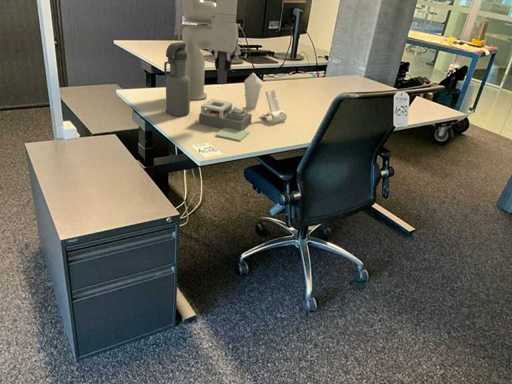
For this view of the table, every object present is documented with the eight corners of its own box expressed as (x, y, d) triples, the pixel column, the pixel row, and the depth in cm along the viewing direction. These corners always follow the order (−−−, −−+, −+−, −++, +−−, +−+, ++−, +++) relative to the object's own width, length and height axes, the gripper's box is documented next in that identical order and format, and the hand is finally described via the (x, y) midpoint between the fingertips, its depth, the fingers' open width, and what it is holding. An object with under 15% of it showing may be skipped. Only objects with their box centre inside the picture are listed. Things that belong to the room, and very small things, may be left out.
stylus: (216, 83, 163) (217, 51, 158) (219, 81, 166) (221, 50, 161) (224, 84, 163) (226, 52, 157) (227, 83, 165) (229, 51, 160)
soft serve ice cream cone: (248, 103, 199) (251, 69, 192) (263, 107, 196) (267, 73, 188) (238, 107, 193) (241, 72, 185) (254, 111, 189) (257, 75, 182)
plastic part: (273, 124, 177) (277, 97, 171) (257, 117, 183) (260, 91, 177) (286, 122, 182) (289, 95, 176) (269, 115, 188) (272, 89, 182)
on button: (232, 113, 167) (232, 108, 166) (235, 110, 170) (235, 106, 169) (240, 114, 166) (240, 110, 165) (243, 112, 169) (244, 107, 168)
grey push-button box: (198, 123, 169) (199, 105, 165) (210, 115, 179) (211, 98, 175) (241, 132, 164) (242, 114, 161) (250, 123, 175) (252, 106, 171)
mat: (215, 136, 158) (215, 134, 158) (225, 128, 167) (225, 126, 167) (240, 141, 156) (240, 139, 156) (249, 133, 165) (249, 131, 164)
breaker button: (210, 121, 171) (210, 114, 170) (213, 118, 174) (214, 111, 173) (218, 123, 170) (219, 116, 169) (222, 120, 174) (222, 113, 172)
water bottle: (178, 118, 172) (179, 47, 158) (160, 112, 176) (159, 42, 162) (194, 113, 179) (196, 44, 166) (176, 107, 184) (177, 40, 170)
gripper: (200, 16, 152) (198, 68, 161) (243, 22, 148) (239, 75, 157) (209, 15, 159) (207, 65, 167) (250, 21, 155) (246, 71, 163)
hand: (222, 69), depth 162 cm, fingers closed on stylus, 3 cm apart
